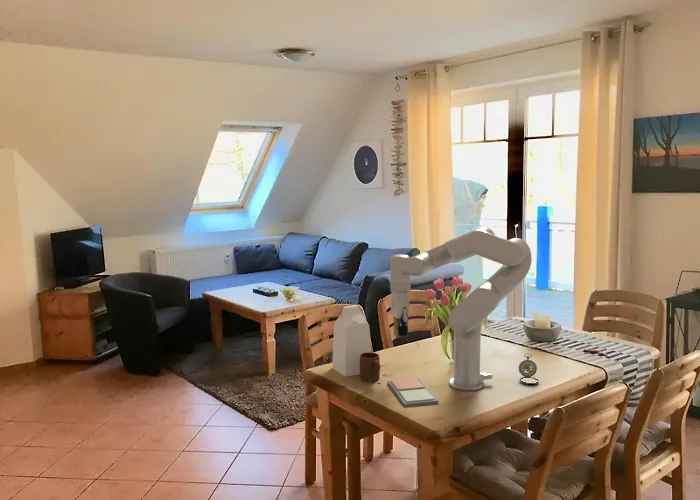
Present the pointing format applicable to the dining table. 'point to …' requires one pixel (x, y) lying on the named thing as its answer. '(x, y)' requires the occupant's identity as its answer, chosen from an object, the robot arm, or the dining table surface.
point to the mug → (369, 367)
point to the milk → (350, 341)
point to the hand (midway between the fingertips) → (400, 333)
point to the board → (412, 392)
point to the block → (396, 327)
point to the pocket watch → (527, 369)
